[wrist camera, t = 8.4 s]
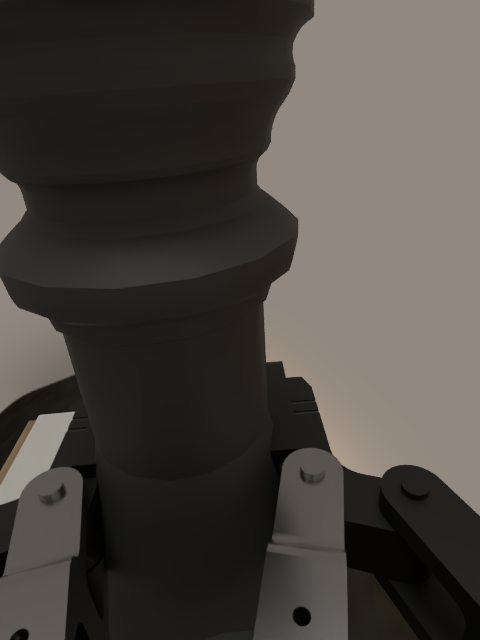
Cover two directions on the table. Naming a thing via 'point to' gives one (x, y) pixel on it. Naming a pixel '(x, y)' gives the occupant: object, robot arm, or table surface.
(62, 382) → the table surface
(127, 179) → the candle holder
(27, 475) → the platform
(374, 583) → the table surface
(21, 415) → the table surface
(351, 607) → the table surface
